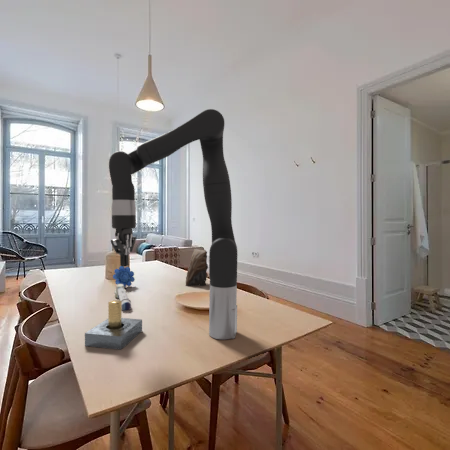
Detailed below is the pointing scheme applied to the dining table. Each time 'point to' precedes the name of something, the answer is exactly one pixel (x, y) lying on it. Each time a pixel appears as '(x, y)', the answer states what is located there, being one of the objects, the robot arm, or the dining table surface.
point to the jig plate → (113, 334)
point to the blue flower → (123, 276)
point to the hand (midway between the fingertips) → (124, 265)
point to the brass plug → (115, 314)
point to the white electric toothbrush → (122, 297)
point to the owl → (197, 269)
